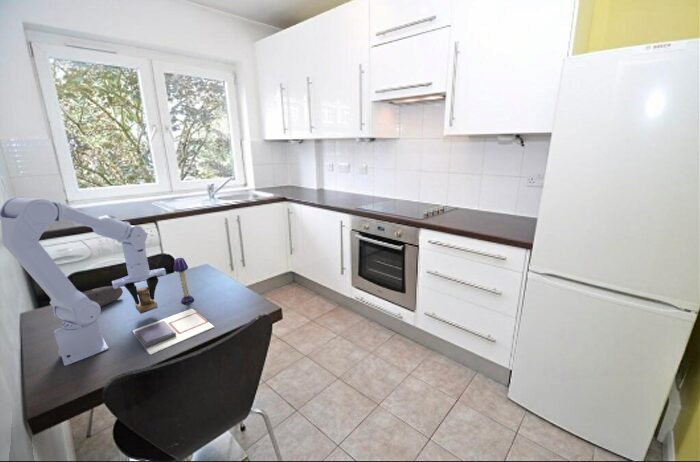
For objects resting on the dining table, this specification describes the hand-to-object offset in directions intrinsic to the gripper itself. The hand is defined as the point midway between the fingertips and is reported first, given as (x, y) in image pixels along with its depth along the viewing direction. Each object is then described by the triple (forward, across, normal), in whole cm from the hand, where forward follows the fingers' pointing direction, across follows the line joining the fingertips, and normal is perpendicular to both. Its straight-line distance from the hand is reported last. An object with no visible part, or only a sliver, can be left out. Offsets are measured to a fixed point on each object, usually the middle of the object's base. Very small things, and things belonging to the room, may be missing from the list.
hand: (144, 301), depth 104 cm
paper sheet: (+6, +3, -14) cm, 16 cm away
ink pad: (+6, -2, -14) cm, 15 cm away
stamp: (+3, 0, 0) cm, 3 cm away
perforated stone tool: (+6, -9, +22) cm, 25 cm away
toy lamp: (+6, +13, +2) cm, 15 cm away
